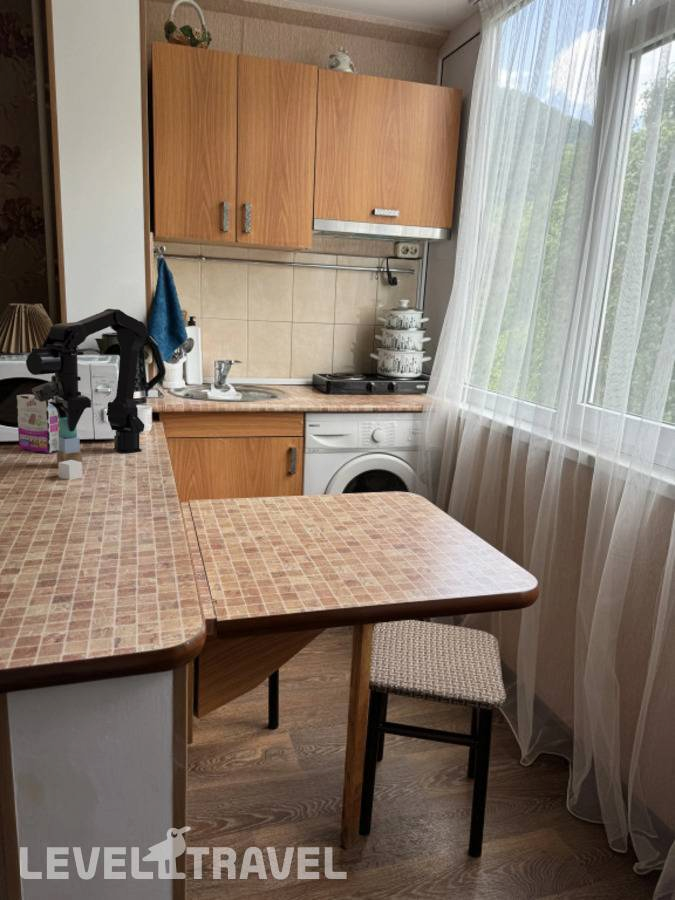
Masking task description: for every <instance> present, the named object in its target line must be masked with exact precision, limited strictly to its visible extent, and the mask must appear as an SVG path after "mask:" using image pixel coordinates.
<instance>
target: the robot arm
mask: <svg viewBox="0 0 675 900" xmlns="http://www.w3.org/2000/svg"><path fill="white" fill-rule="evenodd" d="M108 328H110V329H111V330H113V331H114V332H115V333H116V341H117V343H118V345H119V347H120V358H119V367H118V373H117V374H118V375H117V384H116V385H117V386H116V393H115V394H116V395H115V397H114V399H113V401H108V403H107V411H106V413H105V414H106V416H107V422H108V423H109V426H110V428H111V429H110V430H111V431H115V435H114V437H113V438H114V439H113V440H114V441H113V446H114V447H113V450H115V451H116V452H118V453H121V454H127V453H128V454H129V453H137V452H143V449H142V448H140V433H142V432H144V429H145V427H146V426H145V423H144V422H143V421H142V420H141V419H140V418H139V413H138V406H137V404H136V402H135V400H134V395H135V386H136V377H137V376H136V375H137V367H138V358H139V351H140V350H141V349H142V347H143V346H144V345H145V342H146V340H147V339H146V338H147V334H148V327H147V326H146V325H145V323H144V322H143V321H140V320H138V319H137V318H135V317H132V316H130V315H128V314H126V312H124V311H122V310H121V309H119V308H118V309H116V308H107V309H104V310H103V311H101V312H98V313H96V314H93V315H91V316H88V317H85V318H83V319H80V320H78V321H74V322H62V323H57V324H53V325H51V327H49V329H50V330H49V332H48V335H47V336H46V338H45V339H44V341H43V343H42V345H41V346H40V347H31V352H30V353H28V355H27V357H26V360H25V365H26V368H27V371H28V372H29V373H30V374H31V375H33V376H38V375H40V376H41V375H50V374H52V375H51V377H50V378H51V379H50V380H51V381H48V382H45V383H43V384H39V385H38V386H35V387H32V388H31V391H32V395H34V396H35V398H36V400H39V401H40V402H43V401H46V400H50V399H52V402H49V403H50V404H51V405H53V406H54V407H55V408H56V410H57V412H58V415H59V418H60V417H67V421H68V427H69V431H74V430H75V428H76V426H78V424H79V421H80V419H81V418H82V415H83V414H84V412H85V410H86V409H89V408H90V409H91V408H92V400H91V398H89V397H88V396H85V395H82V392H81V391H79V381H80V382H81V376H79V371H78V370H79V369H78V356H83V355H84V354H85V353H84V351H83V350H81V349H80V348H79V347H78V346H80V345H81V344H83V343H84V342H85V341H86V339H87V338H88V337H89V336H90V335H94V334H95V333H98V332H100V331H102V330H106V329H108Z"/></svg>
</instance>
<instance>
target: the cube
mask: <svg viewBox="0 0 675 900" xmlns="http://www.w3.org/2000/svg"><path fill="white" fill-rule="evenodd" d="M57 466H58V478H60V479H64V480H68V481H71V480H74V479H78V478H79V479H80V478H82V477H83V461H82V462H79V461H75V460H68V461H63V462H59V463H58V464H57Z"/></svg>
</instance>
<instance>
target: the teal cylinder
mask: <svg viewBox="0 0 675 900" xmlns="http://www.w3.org/2000/svg"><path fill="white" fill-rule="evenodd" d="M77 426H78V425H77ZM77 426H76V428H75V430H74V431H69V427H68V421H67V417H60V418H59V436H60V437H62V438H73V437H78V427H77Z"/></svg>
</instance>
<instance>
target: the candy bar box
mask: <svg viewBox="0 0 675 900" xmlns="http://www.w3.org/2000/svg"><path fill="white" fill-rule="evenodd" d="M49 402H52V399H50V400H46V401H43V402H40V401H39V400H36V398H35V396H34V394H33V393H32V394H31V393H25V394H19V395H17V394H16V408H17V412H16V413H17V428H18V429H17V431H18V449H19V450H21V451H27V452H28V451H29V452H36V453H43V454H44V453H45V454H53V453H57V450H59V415H58V412H57V410H56V408H55V407H54V406H53V405H51V404H50V403H49Z"/></svg>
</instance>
